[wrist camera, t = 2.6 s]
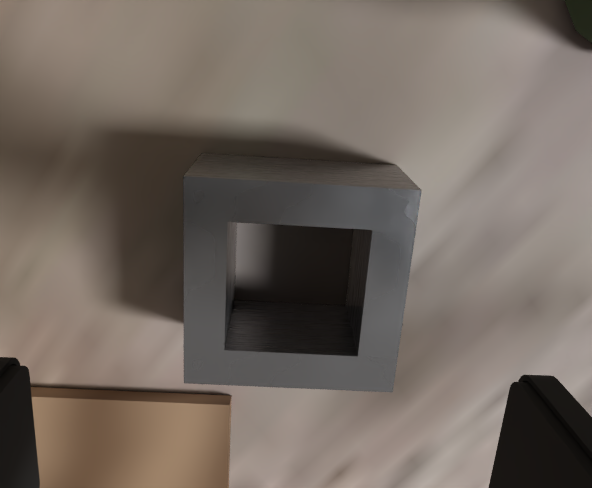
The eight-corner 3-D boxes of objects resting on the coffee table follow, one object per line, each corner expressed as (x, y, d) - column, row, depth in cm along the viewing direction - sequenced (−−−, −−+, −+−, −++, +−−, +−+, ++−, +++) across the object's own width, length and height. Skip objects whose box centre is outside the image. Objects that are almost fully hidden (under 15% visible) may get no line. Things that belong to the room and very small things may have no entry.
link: (396, 165, 18) (421, 190, 15) (374, 336, 20) (392, 392, 17) (202, 153, 18) (183, 176, 15) (200, 328, 20) (183, 383, 17)
